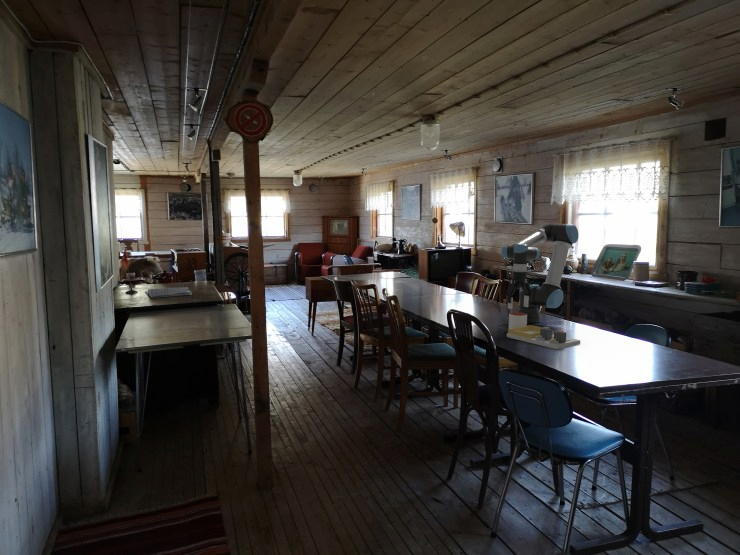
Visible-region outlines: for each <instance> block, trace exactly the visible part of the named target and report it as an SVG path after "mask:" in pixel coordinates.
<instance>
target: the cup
mask: <svg viewBox="0 0 740 555" xmlns="http://www.w3.org/2000/svg"><path fill="white" fill-rule="evenodd" d="M527 324H528V323H527V314H524V313H518V312H510V313H509V314H508V329H511V328H517V327H523V326H528V325H527Z"/></svg>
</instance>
